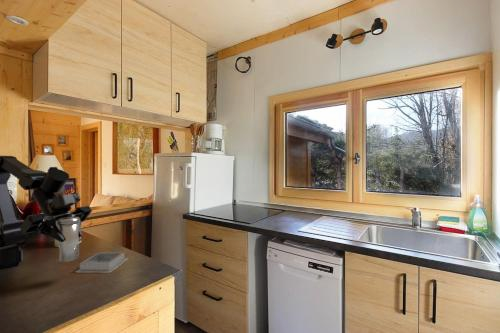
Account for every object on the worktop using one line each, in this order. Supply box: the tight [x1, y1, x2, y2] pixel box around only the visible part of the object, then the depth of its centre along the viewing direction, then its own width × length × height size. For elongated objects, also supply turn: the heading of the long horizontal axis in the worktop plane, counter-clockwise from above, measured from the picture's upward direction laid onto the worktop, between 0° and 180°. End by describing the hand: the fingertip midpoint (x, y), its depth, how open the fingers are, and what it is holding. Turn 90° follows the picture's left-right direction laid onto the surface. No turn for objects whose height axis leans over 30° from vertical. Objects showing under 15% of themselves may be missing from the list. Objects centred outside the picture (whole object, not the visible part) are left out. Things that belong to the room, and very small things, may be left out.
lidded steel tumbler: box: [57, 217, 80, 263], centre depth 78 cm, size 6×6×13 cm
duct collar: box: [74, 252, 129, 274], centre depth 90 cm, size 12×12×3 cm
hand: (72, 238), depth 78 cm, fingers closed on lidded steel tumbler, 5 cm apart
